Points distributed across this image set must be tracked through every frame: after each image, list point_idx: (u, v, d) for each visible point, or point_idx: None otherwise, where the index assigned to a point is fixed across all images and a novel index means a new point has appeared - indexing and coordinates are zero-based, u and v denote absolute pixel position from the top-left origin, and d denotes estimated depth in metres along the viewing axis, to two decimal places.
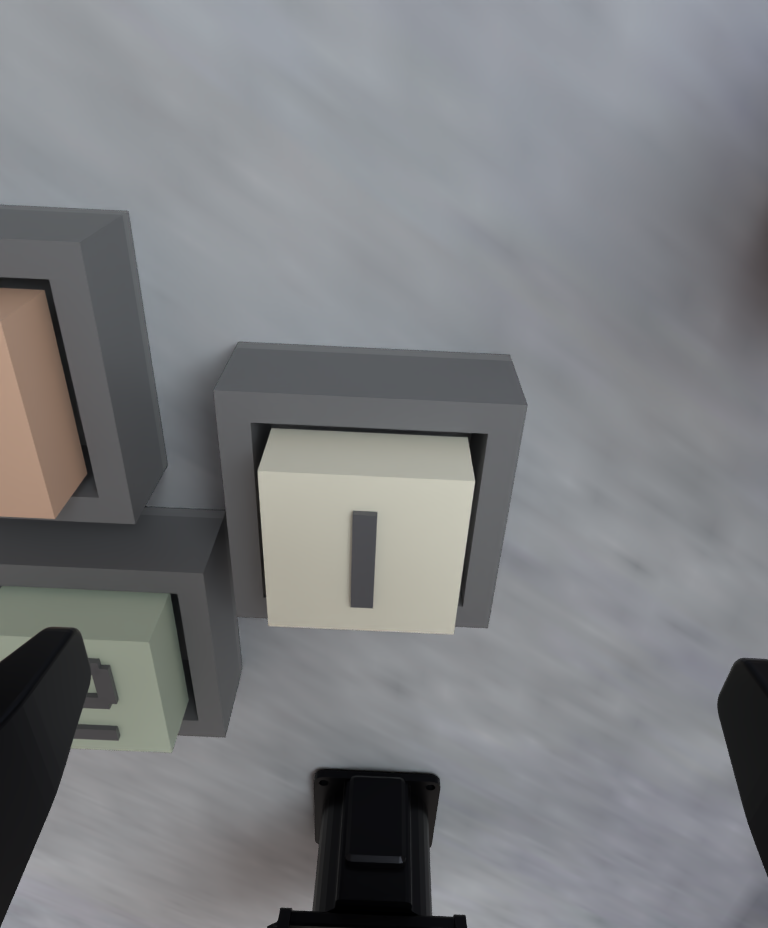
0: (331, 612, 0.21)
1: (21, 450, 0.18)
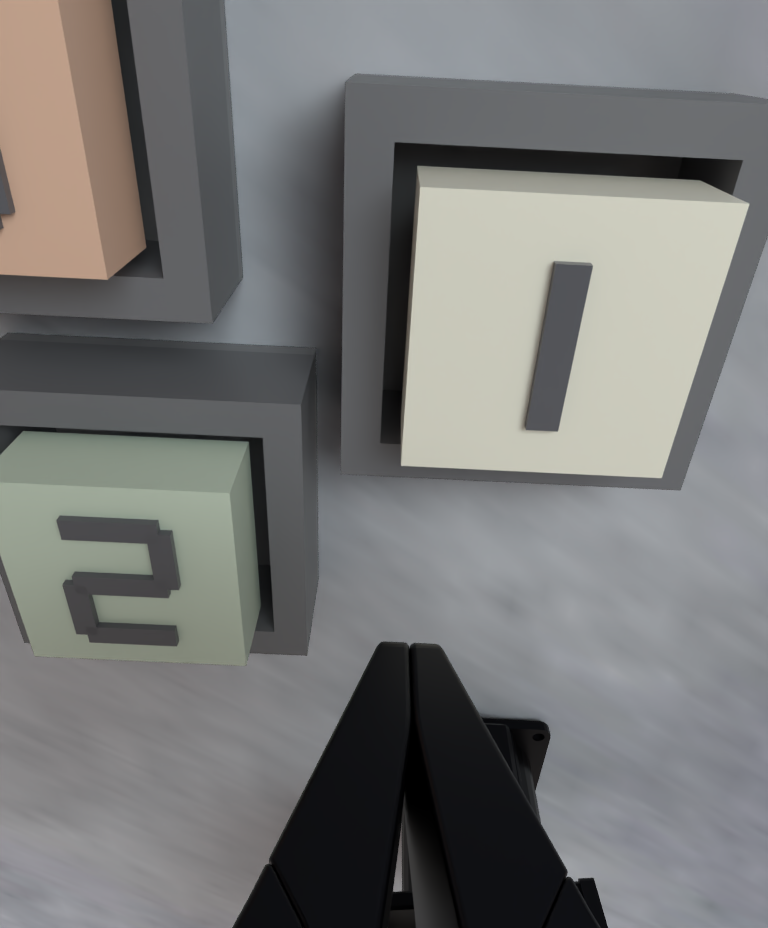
0: (494, 441, 0.15)
1: (61, 149, 0.12)
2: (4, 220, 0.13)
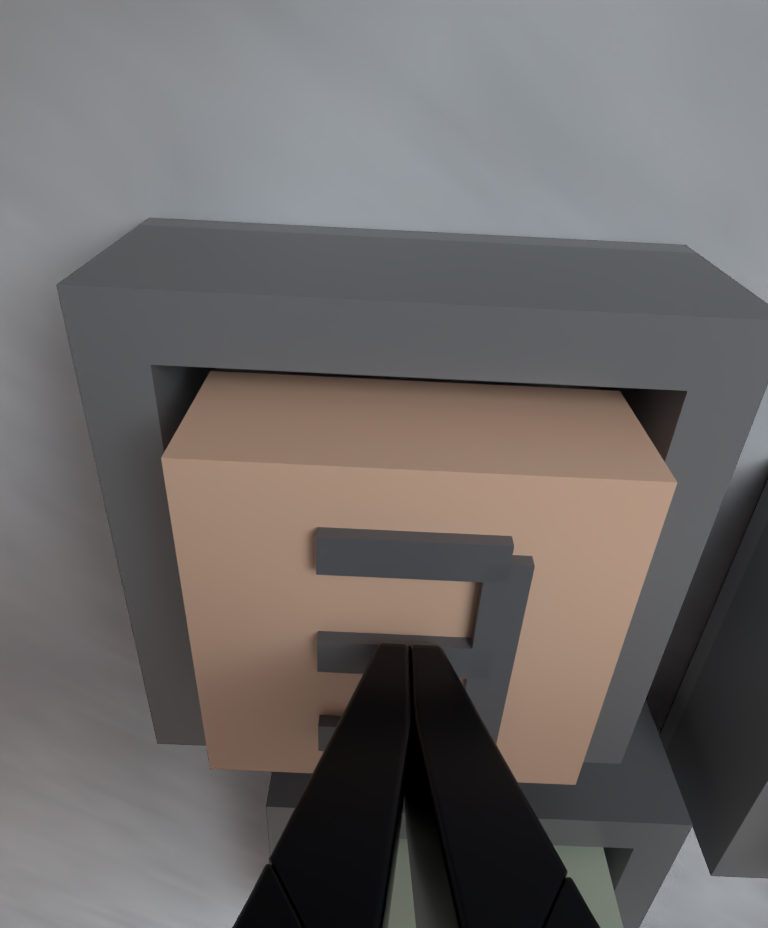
0: None
1: (579, 690, 0.10)
2: None
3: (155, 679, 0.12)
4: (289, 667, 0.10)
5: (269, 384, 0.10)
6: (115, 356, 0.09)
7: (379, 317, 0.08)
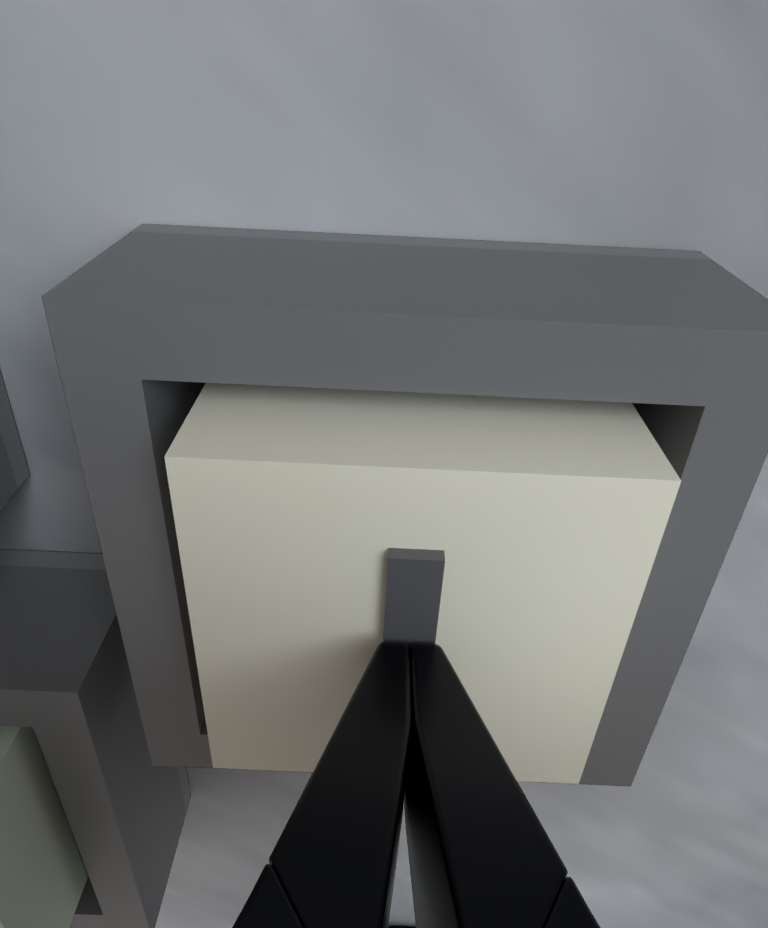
0: None
1: None
2: None
3: None
4: None
5: None
6: None
7: None
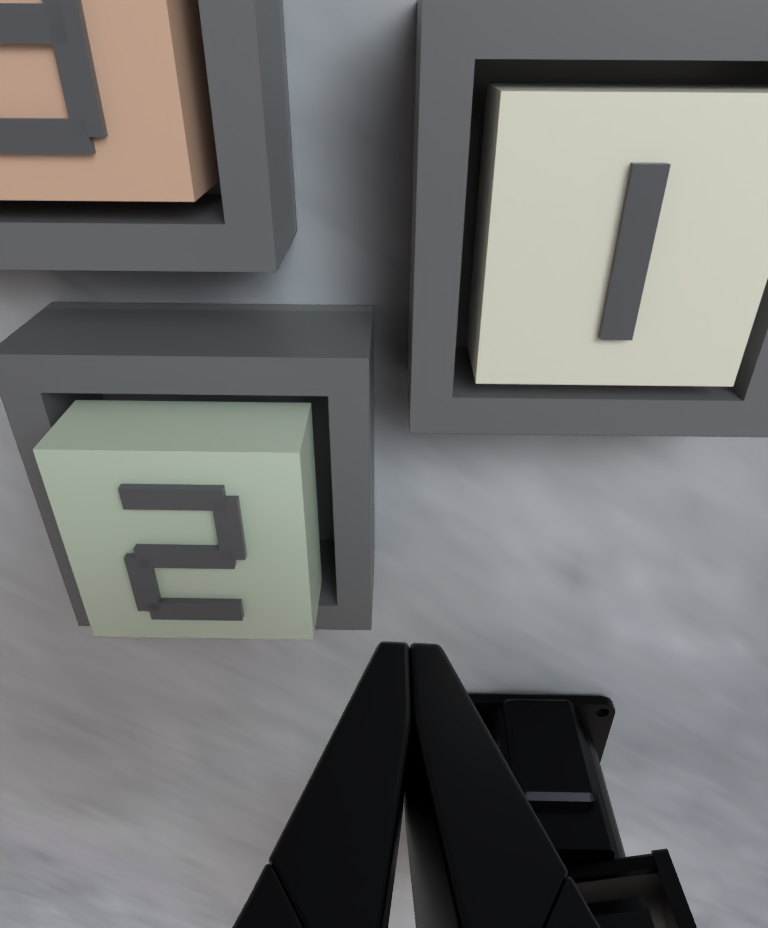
0: (567, 354, 0.15)
1: (154, 69, 0.12)
2: (97, 145, 0.13)
3: None
4: None
5: None
6: None
7: None
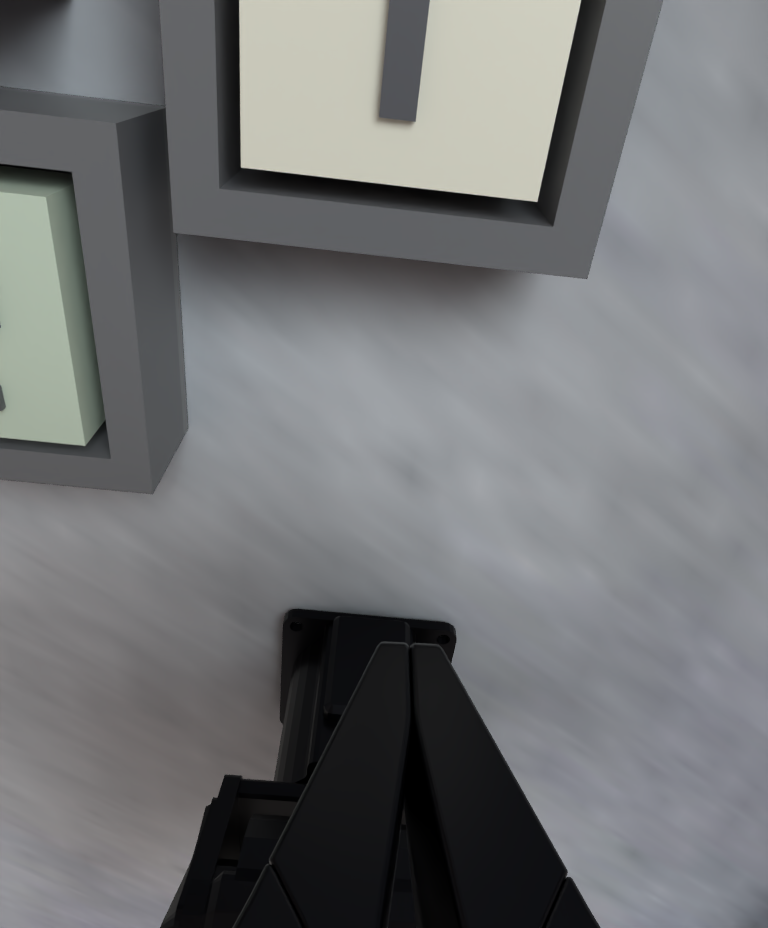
0: (345, 138, 0.13)
1: None
2: None
3: None
4: None
5: None
6: None
7: None
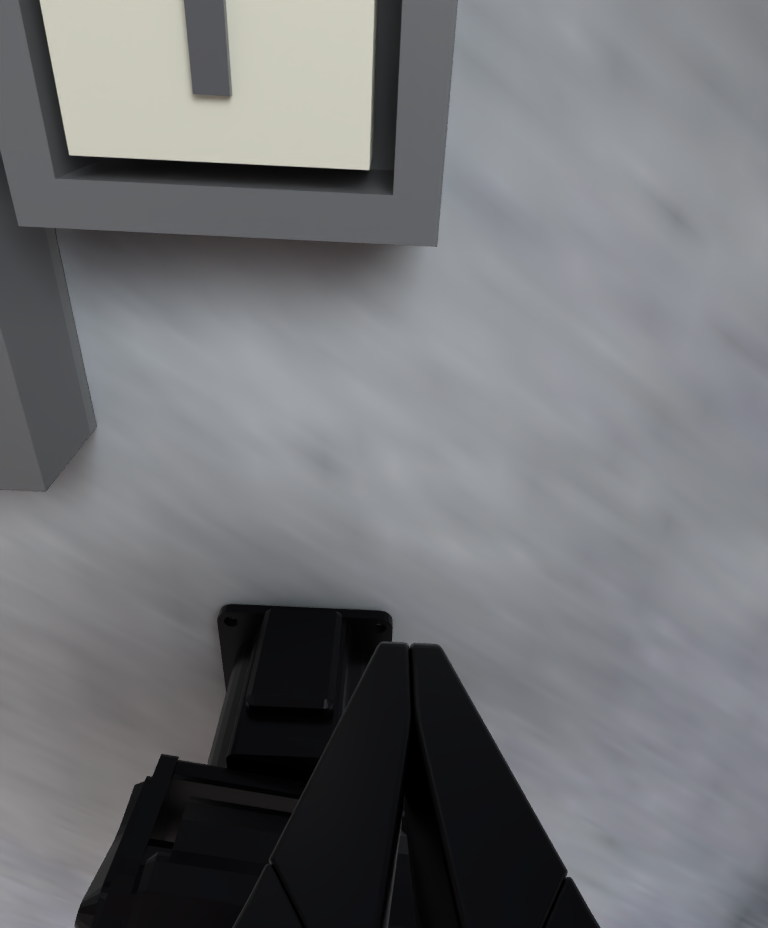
0: (166, 117, 0.13)
1: None
2: None
3: None
4: None
5: None
6: None
7: None
